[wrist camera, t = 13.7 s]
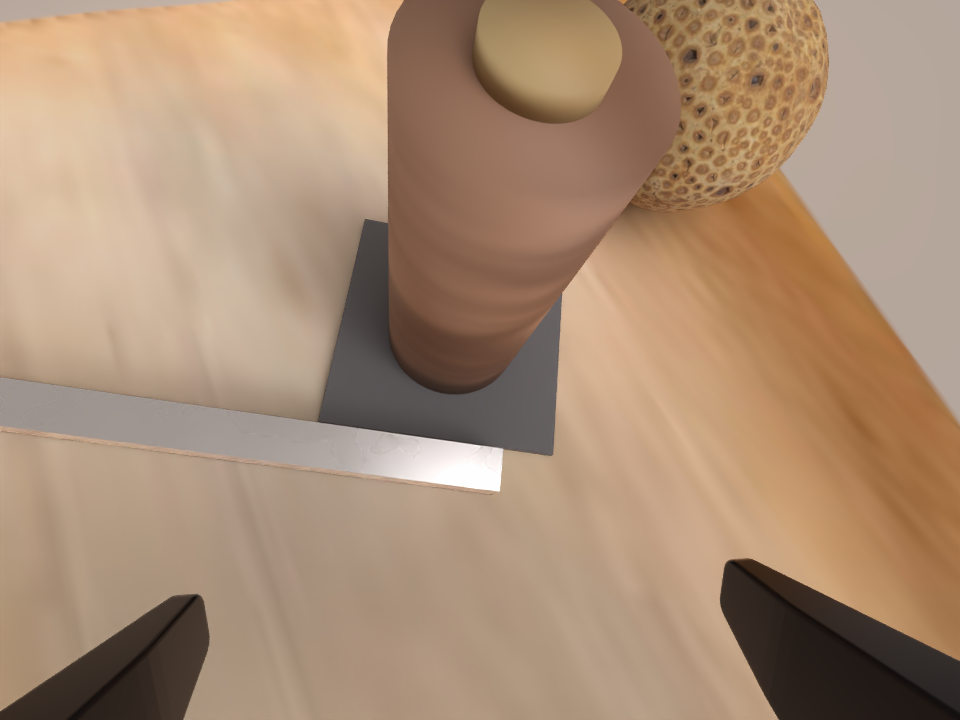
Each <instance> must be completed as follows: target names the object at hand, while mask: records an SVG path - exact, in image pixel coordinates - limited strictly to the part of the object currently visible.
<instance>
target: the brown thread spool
mask: <svg viewBox="0 0 960 720" xmlns="http://www.w3.org/2000/svg"><path fill="white" fill-rule="evenodd" d="M387 81H388V242H389V339H390V345H391V349H392V352H393V354H394V357H395V359H396V361H397V362H398V364H399V366H400V367H401V368H402V370H403V371H404V372H405V373H406V374H407V375H408V376H409V377H410V378H411V379H412V380H414V381H415V382H416V383H418V384H420V385H421V386H423V387H425V388H427V389H430V390H432V391H435V392H439V393H443V394H451V395H460V394H468V393H471V392H475V391H478V390H480V389H483V388H485V387H486V386H488V385H490V384H491V383H493V382H494V381H495V380H496V379H498V377H499V376H500V375H501V374H502V373H503V372H504V371H505V369H506V368H507V367H508V365H509V364H510V363H511V361H512V360H513V358H514V357H515V356H516V354H517V353H518V352H519V350H520V349H521V348H522V346H523V345H524V344H525V342H526V341H527V340H528V338H529V337H530V336H531V334H532V333H533V332H534V330H535V329H536V327H537V326H538V325H539V323H540V322H541V321H542V319H543V318H544V317H545V315H546V314H547V313H548V311H549V310H550V309H551V307H552V306H553V305H554V303H555V302H556V301H557V299H558V298H559V296H560V295H561V294H562V292H563V291H564V290H565V288H566V287H567V286H568V284H569V283H570V282H571V280H572V279H573V278H574V276H575V275H576V274H577V272H578V271H579V270H580V268H581V267H582V265H583V264H584V263H585V261H586V260H587V259H588V257H589V256H590V255H591V253H592V252H593V251H594V249H595V248H596V247H597V245H598V244H599V243H600V241H601V240H602V239H603V237H604V236H605V235H606V233H607V232H608V230H609V229H610V228H611V226H612V225H613V224H614V222H615V221H616V220H617V218H618V217H619V216H620V214H621V213H622V212H623V210H624V209H625V208H626V206H627V205H628V204H629V202H630V201H631V199H632V198H633V197H634V195H635V194H636V193H637V191H638V190H639V189H640V187H641V186H642V185H643V183H644V182H645V181H646V179H647V178H648V177H649V175H650V174H651V173H652V171H653V170H654V168H655V167H656V166H657V164H658V163H659V162H660V160H661V159H662V158H663V156H664V155H665V154H666V152H667V151H668V149H669V148H670V146H671V144H672V142H673V140H674V138H675V136H676V133H677V129H678V126H679V122H680V113H681V98H680V90H679V85H678V81H677V77H676V74H675V72H674V69H673V66H672V64H671V62H670V60H669V58H668V56H667V54H666V52H665V50H664V49H663V47H662V46H661V44H660V43H659V41H658V40H657V38H656V37H655V36H654V34H653V33H652V32H651V31H650V30H649V28H648V27H647V26H646V25H645V24H644V23H643V22H642V21H641V20H640V19H639V18H638V17H637V16H636V15H635V14H634V13H633V12H632V11H631V10H629V9H628V8H627V7H626V6H625V5H623V4H622V3H621V2H620V1H618V0H404V1H403V3H402V5H401V6H400V8H399V9H398V11H397V12H396V15H395V17H394V19H393V22H392V24H391V27H390V32H389V37H388V50H387Z"/></svg>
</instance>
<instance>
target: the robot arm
mask: <svg viewBox="0 0 960 720" xmlns="http://www.w3.org/2000/svg"><path fill="white" fill-rule="evenodd" d="M720 604H721V609H722V612H723V614H724V616H725V618H726V620H727V622H728V624H729V626H730V628H731V630H732V632H733V634H734V636H735V638H736V640H737V642H738V644H739V646H740V648H741V650H742V652H743V654H744V656H745V658H746V660H747V662H748V664H749V666H750V668H751V670H752V672H753V674H754V676H755V678H756V680H757V682H758V683H759V685H760V687H761V689H762V691H763V693H764V695H765V697H766V698H767V700H768V702H769V704H770V706H771V707H772V709H773V711H774V712H775V714H776V716H777V717H778V719H779V720H960V661H958V660H956V659H954V658H952V657H950V656H948V655H946V654H944V653H942V652H940V651H938V650H936V649H934V648H932V647H930V646H928V645H926V644H924V643H922V642H920V641H918V640H916V639H914V638H912V637H910V636H908V635H905V634H903V633H901V632H899V631H897V630H895V629H893V628H891V627H889V626H887V625H885V624H883V623H881V622H879V621H877V620H875V619H873V618H871V617H869V616H867V615H865V614H863V613H861V612H859V611H857V610H855V609H853V608H851V607H849V606H846V605H844V604H842V603H840V602H838V601H836V600H834V599H832V598H830V597H828V596H826V595H824V594H822V593H820V592H818V591H816V590H814V589H812V588H810V587H808V586H806V585H804V584H802V583H800V582H798V581H796V580H794V579H792V578H790V577H787V576H785V575H783V574H781V573H779V572H777V571H775V570H773V569H771V568H769V567H767V566H765V565H763V564H761V563H759V562H757V561H755V560H753V559H748V558H746V559H731V560H729V561H727V562H726V564H725V567H724V573H723V580H722V587H721V594H720ZM208 647H209V629H208V623H207V617H206V611H205V605H204V601H203V598H202V597H201V596H200V595H198V594H188V595H176V596H172V597H170V598H169V599H167V600H166V601H164V602H163V603H161V604H160V605H158V606H157V607H155V608H154V609H152V610H151V611H149V612H148V613H146V614H145V615H143V616H142V617H140V618H139V619H137V620H136V621H134V622H133V623H131V624H130V625H128V626H127V627H125V628H124V629H123V630H121V631H120V632H118V633H117V634H115V635H114V636H112V637H111V638H109V639H108V640H106V641H105V642H103V643H102V644H100V645H99V646H97V647H96V648H94V649H93V650H91V651H90V652H88V653H87V654H85V655H84V656H82V657H81V658H79V659H78V660H76V661H75V662H73V663H72V664H70V665H69V666H67V667H66V668H64V669H63V670H61V671H60V672H58V673H57V674H55V675H54V676H52V677H51V678H49V679H48V680H46V681H45V682H44V683H42V684H41V685H39V686H38V687H36V688H35V689H33V690H32V691H30V692H29V693H27V694H26V695H24V696H23V697H21V698H20V699H18V700H17V701H15V702H14V703H12V704H11V705H9V706H8V707H6V708H5V709H3V710H2V711H0V720H183V719H184V716H185V713H186V710H187V708H188V705H189V702H190V699H191V696H192V694H193V691H194V688H195V685H196V682H197V680H198V677H199V674H200V671H201V668H202V665H203V663H204V660H205V657H206V654H207V651H208Z"/></svg>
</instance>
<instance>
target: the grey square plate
mask: <svg viewBox="0 0 960 720" xmlns="http://www.w3.org/2000/svg"><path fill="white" fill-rule="evenodd" d="M561 302H562V294H561V295H560V296H559V298H558V299H557V301H556V302H555V303H554V305H553V306H552V307H551V309H550V310H549V311H548V313H547V314H546V315H545V317H544V318H543V319H542V321H541V322H540V323H539V325H538V326H537V327H536V329H535V330H534V332H533V333H532V334H531V336H530V337H529V338H528V340H527V341H526V342H525V344H524V345H523V346H522V348H521V349H520V350H519V352H518V353H517V354H516V356H515V357H514V358H513V360H512V361H511V363H510V364H509V365H508V367H507V368H506V369H505V371H504V372H503V373H502V374H501V375H500V376H499V377H498V379H496V380H495V381H494V382H493V383H491V384H490V385H488V386H486V387H485V388H483V389H480V390H478V391H475V392H471V393H468V394H460V395H451V394H443V393H439V392H435V391H432V390H430V389H427V388H425V387H423V386H421V385H420V384H418V383H416V382H415V381H414V380H412V379H411V378H410V377H409V376H408V375H407V374H406V373H405V372H404V371H403V370H402V368H401V367H400V366H399V364H398V362H397V361H396V359H395V357H394V354H393V352H392V349H391V345H390V339H389V242H388V223H383V222H378V221H373V220H368V219H365V222H364V226H363V231H362V235H361V239H360V244H359V248H358V252H357V256H356V261H355V265H354V269H353V274H352V278H351V282H350V287H349V291H348V295H347V300H346V304H345V308H344V313H343V317H342V321H341V325H340V330H339V334H338V338H337V343H336V347H335V351H334V356H333V360H332V364H331V369H330V373H329V377H328V382H327V386H326V390H325V394H324V399H323V403H322V407H321V412H320V416H319V420H318V422H319V423H326V424H333V425H340V426H347V427H354V428H361V429H368V430H375V431H382V432H389V433H396V434H403V435H410V436H417V437H424V438H431V439H438V440H445V441H452V442H459V443H466V444H473V445H480V446H487V447H494V448H501V449H506V450H513V451H520V452H527V453H534V454H541V455H548V456H551V455H553V447H554V429H555V410H556V392H557V374H558V356H559V338H560V320H561Z"/></svg>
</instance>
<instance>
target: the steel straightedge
mask: <svg viewBox="0 0 960 720" xmlns="http://www.w3.org/2000/svg"><path fill="white" fill-rule="evenodd" d="M0 431H5V432H13V433H21V434H28V435H36V436H44V437H51V438H59V439H67V440H75V441H82V442H90V443H98V444H105V445H113V446H121V447H128V448H136V449H144V450H152V451H159V452H167V453H175V454H182V455H190V456H198V457H205V458H213V459H221V460H229V461H236V462H244V463H252V464H259V465H267V466H275V467H283V468H290V469H298V470H306V471H313V472H321V473H329V474H336V475H344V476H352V477H360V478H367V479H375V480H383V481H390V482H398V483H406V484H413V485H421V486H429V487H437V488H444V489H452V490H460V491H467V492H475V493H483V494H490V495H492V494H494V493H497V492H499V491H500V482H501V471H502V460H503V449H501V448H494V447H487V446H480V445H473V444H466V443H459V442H452V441H445V440H438V439H431V438H424V437H417V436H410V435H403V434H396V433H389V432H382V431H375V430H368V429H361V428H354V427H347V426H340V425H333V424H326V423H319V422H312V421H305V420H298V419H291V418H284V417H277V416H270V415H262V414H255V413H248V412H241V411H234V410H227V409H220V408H213V407H206V406H199V405H192V404H185V403H178V402H171V401H164V400H157V399H150V398H143V397H136V396H129V395H122V394H115V393H108V392H101V391H94V390H87V389H80V388H73V387H66V386H59V385H52V384H45V383H38V382H31V381H24V380H17V379H9V378H2V377H0Z"/></svg>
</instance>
